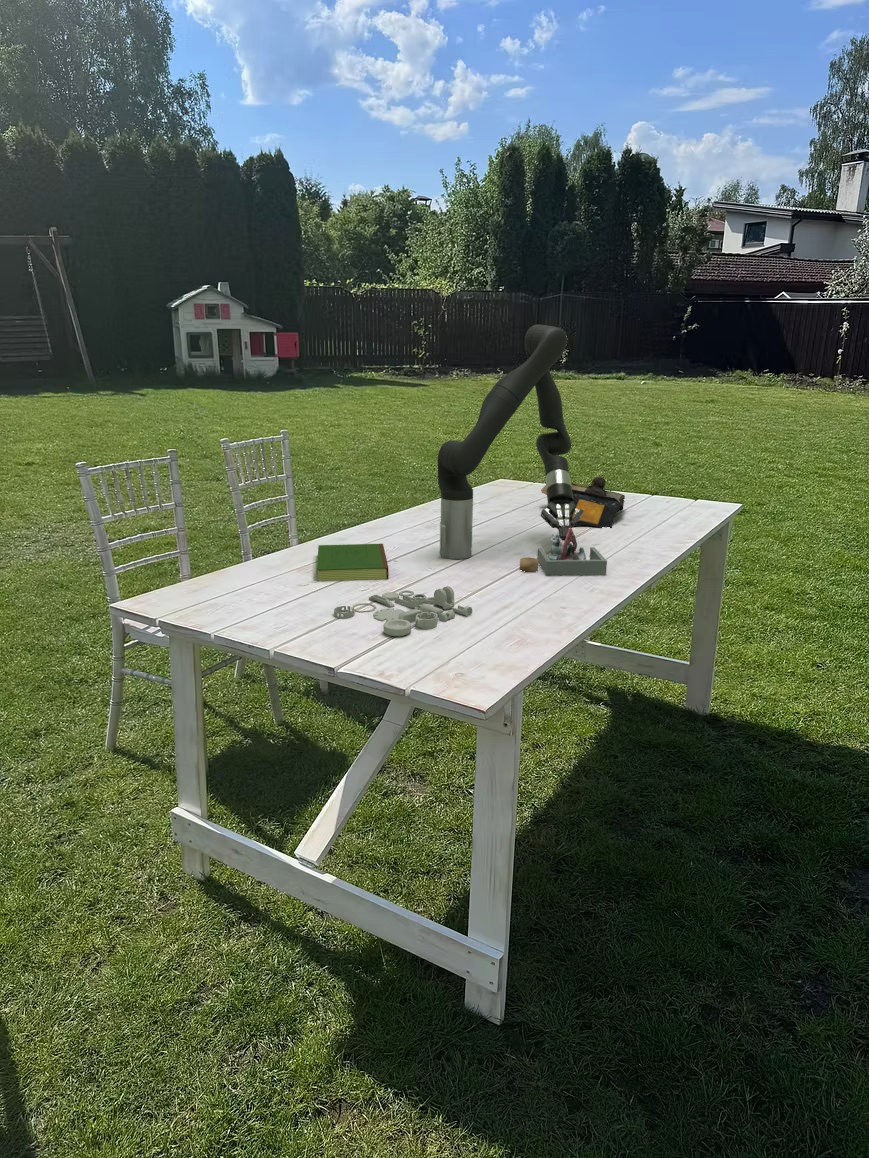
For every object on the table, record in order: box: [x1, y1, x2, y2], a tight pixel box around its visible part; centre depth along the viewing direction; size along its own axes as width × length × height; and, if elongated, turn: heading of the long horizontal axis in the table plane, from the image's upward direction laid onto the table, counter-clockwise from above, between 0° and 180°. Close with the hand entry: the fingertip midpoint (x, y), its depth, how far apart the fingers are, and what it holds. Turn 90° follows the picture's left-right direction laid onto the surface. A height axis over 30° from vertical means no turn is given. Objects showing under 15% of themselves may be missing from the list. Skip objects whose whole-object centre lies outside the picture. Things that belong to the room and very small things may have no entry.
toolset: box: [540, 476, 626, 529], centre depth 279 cm, size 40×20×27 cm
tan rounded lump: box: [519, 556, 539, 573], centre depth 216 cm, size 5×5×3 cm
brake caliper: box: [547, 528, 587, 560], centre depth 220 cm, size 11×11×12 cm
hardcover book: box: [316, 543, 390, 582], centre depth 218 cm, size 25×19×4 cm
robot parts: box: [333, 585, 473, 637], centre depth 183 cm, size 25×25×5 cm
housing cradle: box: [536, 546, 608, 577], centre depth 218 cm, size 16×14×4 cm
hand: (565, 539), depth 225 cm, fingers closed
